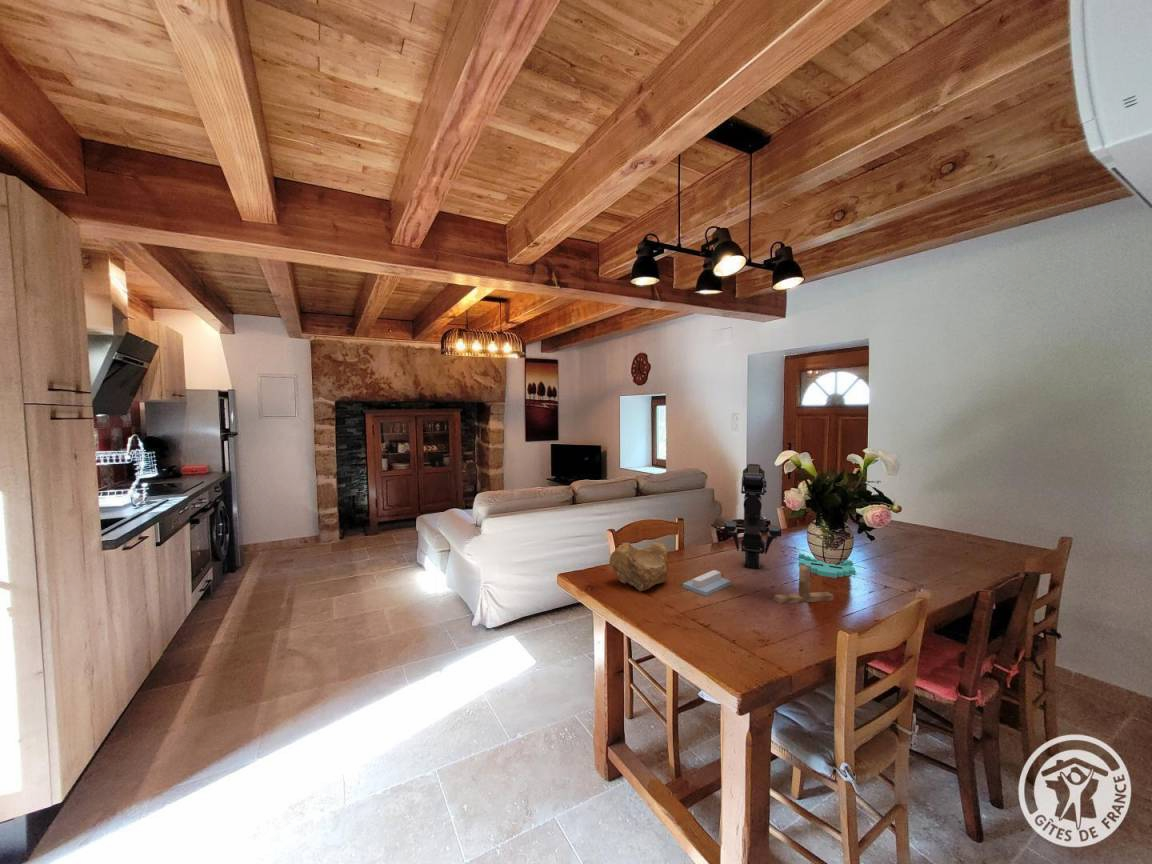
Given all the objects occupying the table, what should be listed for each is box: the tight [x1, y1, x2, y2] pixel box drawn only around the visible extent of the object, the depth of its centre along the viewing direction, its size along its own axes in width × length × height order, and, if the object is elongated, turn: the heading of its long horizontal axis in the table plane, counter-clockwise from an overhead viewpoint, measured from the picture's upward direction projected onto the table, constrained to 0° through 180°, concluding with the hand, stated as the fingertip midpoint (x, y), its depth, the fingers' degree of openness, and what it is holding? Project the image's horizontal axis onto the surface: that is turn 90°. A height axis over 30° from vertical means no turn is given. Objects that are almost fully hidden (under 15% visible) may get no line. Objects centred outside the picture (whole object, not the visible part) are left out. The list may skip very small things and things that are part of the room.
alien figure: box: [798, 553, 856, 579], centre depth 177 cm, size 20×2×20 cm
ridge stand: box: [682, 569, 732, 597], centre depth 159 cm, size 16×10×4 cm, turn 130°
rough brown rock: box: [609, 542, 669, 592], centre depth 160 cm, size 23×17×15 cm
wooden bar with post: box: [773, 565, 834, 605], centre depth 147 cm, size 20×3×12 cm, turn 97°
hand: (751, 552), depth 154 cm, fingers open, 9 cm apart
